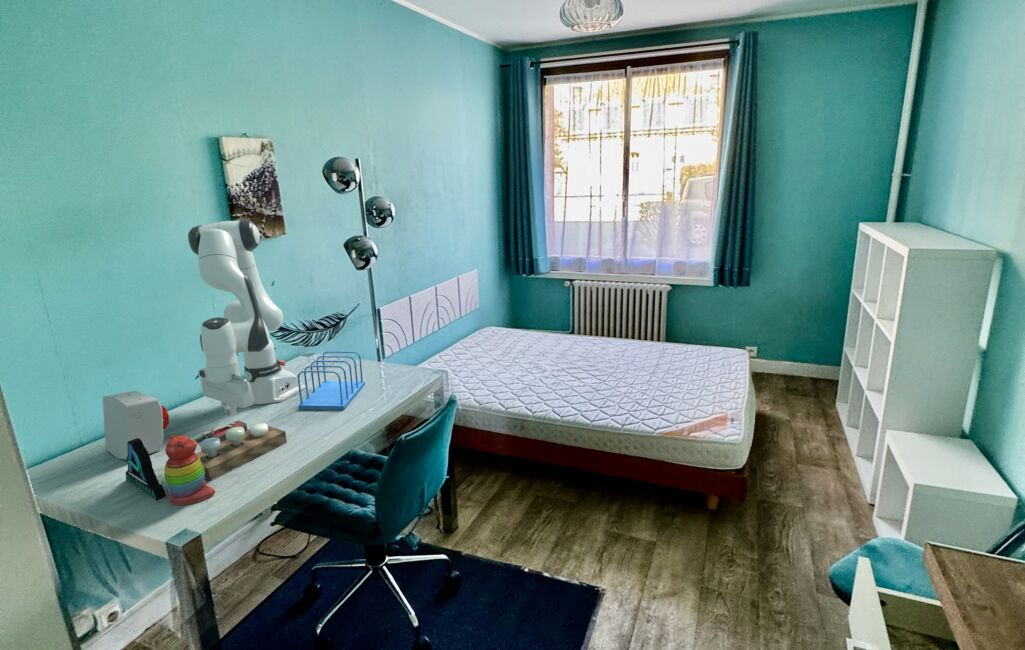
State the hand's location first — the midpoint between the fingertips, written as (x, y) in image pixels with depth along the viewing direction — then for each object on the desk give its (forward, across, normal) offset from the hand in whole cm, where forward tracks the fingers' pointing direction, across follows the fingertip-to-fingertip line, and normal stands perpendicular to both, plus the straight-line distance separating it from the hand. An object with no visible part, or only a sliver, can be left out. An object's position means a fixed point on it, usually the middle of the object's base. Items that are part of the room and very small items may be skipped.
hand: (231, 414), depth 164 cm
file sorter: (+14, +10, -47) cm, 50 cm away
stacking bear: (+14, -8, +20) cm, 26 cm away
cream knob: (+12, 0, -8) cm, 15 cm away
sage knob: (+10, 0, 0) cm, 10 cm away
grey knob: (+10, 0, +8) cm, 13 cm away
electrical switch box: (+14, +33, +11) cm, 38 cm away
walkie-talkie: (+15, +17, -4) cm, 23 cm away
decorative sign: (+15, +7, +24) cm, 29 cm away
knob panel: (+14, 0, 0) cm, 14 cm away
